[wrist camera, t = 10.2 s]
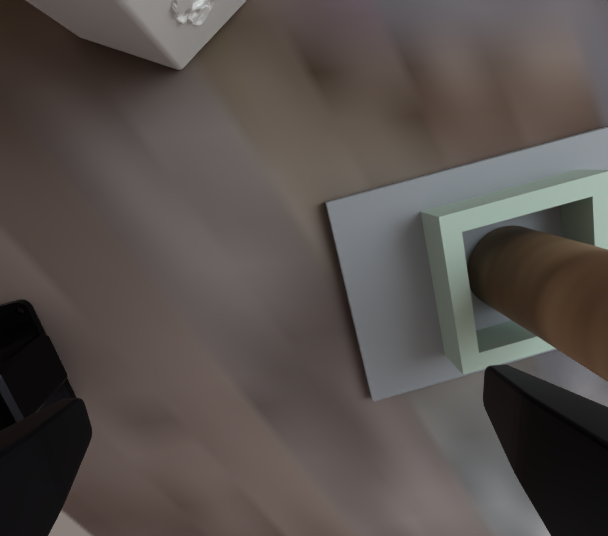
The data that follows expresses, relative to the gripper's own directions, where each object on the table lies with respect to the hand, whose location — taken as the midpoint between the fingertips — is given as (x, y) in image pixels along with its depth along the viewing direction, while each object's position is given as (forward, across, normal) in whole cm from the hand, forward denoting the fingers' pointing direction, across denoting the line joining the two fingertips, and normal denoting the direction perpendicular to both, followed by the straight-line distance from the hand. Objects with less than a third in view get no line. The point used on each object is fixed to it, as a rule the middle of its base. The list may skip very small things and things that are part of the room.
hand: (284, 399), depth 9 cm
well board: (+14, -12, +2) cm, 18 cm away
